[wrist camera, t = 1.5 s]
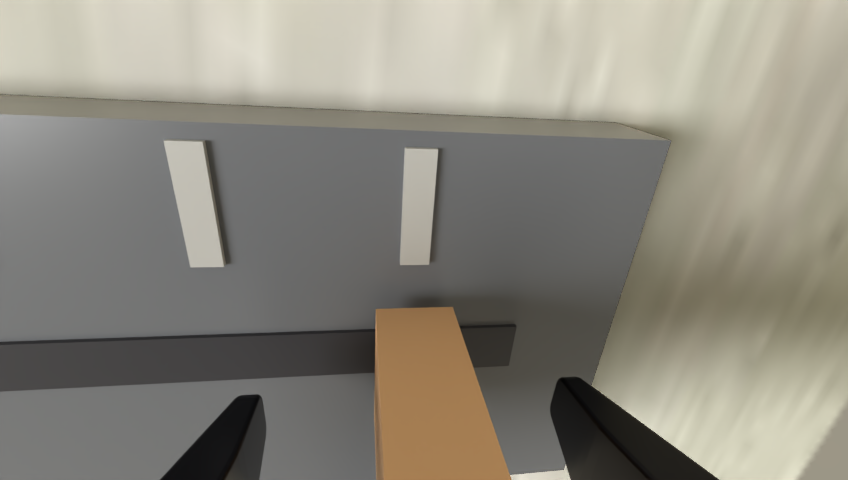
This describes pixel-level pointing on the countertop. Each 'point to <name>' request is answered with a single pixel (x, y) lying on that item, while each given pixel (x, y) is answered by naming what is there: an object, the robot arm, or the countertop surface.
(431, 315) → the fader tab
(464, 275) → the console
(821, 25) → the countertop surface
